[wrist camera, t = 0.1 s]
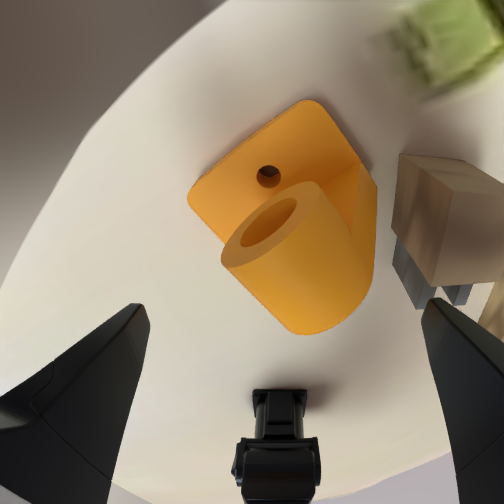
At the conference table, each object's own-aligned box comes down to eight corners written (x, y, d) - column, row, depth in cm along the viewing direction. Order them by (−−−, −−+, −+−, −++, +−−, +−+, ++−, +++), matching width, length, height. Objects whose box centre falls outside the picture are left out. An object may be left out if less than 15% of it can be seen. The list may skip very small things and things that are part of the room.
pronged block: (442, 262, 24) (482, 320, 17) (384, 264, 25) (416, 329, 18) (462, 160, 20) (524, 197, 13) (399, 154, 20) (453, 190, 13)
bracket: (308, 93, 19) (351, 102, 8) (366, 175, 21) (439, 262, 11) (190, 184, 23) (124, 277, 12) (252, 252, 25) (237, 372, 15)
